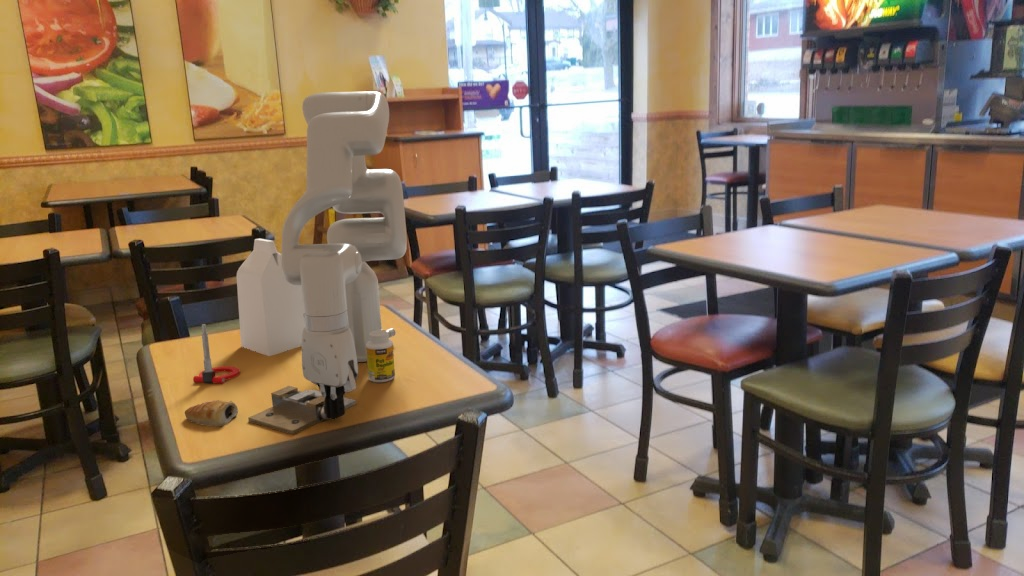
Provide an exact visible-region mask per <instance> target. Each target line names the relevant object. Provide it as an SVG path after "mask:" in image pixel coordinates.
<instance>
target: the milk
mask: <svg viewBox="0 0 1024 576" xmlns="http://www.w3.org/2000/svg"><path fill="white" fill-rule="evenodd" d="M236 289H237V303H238V318H239V333H240V335H239V336H240V347H241V348H243V347H244V349H246V348H247V350H249V349H250V351H252V352H255V351H256V352H255V353H259V354H262V355H263V356H267V357H271V356H274V355H278V354H281V353H283V352H284V353H285V352H288V351H290V350H294V349H297V348H300V347H301V348H302V334H303V329H304V328H305V327H306V325H305V318H304V304H303V294H302V285H293V284H291V283H289V282H288V281H287V280H286V279H285V277H284V275H283V271H282V262H281V253H280V252H278V250H277V247H276V244H275V241H274V240H270V239H266V238H260V237H259V238H255V239H254V242H253V250H252V251H251V252H250V254H248V256H247V257H246V258H245V260H244V261H243V262H242V264H241V265H240V266H239V267H238V270H237V271H236ZM287 350H288V351H287Z"/></svg>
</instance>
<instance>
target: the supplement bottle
mask: <svg viewBox="0 0 1024 576" xmlns="http://www.w3.org/2000/svg"><path fill="white" fill-rule="evenodd" d="M386 330H387V329H386ZM386 330H384V329H382V330H376V331H372V332H370V333H369V340H370V341H368V342H367V343H366V351H367V361H366V363H367V373H368V375H367V376H368V379H369V380H370V381H371V382H373V383H386V382H390V381H392V380H394V378H395V377H396V373H395V370H396V369H395V358H394V356H395V355H394V344H393V340H392V339H390V338H389V336H388V331H386Z"/></svg>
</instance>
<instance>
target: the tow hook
mask: <svg viewBox="0 0 1024 576" xmlns="http://www.w3.org/2000/svg"><path fill="white" fill-rule="evenodd" d="M201 330H202V331H201V332H202V334H201V342H202V348H203V349H202V351H203V366H204V367H203V368H204V370H202V371H200V372H199V374H198V375H194V376H193V382H194V383H197V384H198V383H200V384H201V383H202V384H212V385H213V384H225V383H226V380H227V381H228V380H230V379H233V378H235V377H238V376H239V375H240V374H241V371H240V368H239V367H236V366H231V365H230V366H216V367H212V359H211V355H210V354H211V353H210V345H209V335H208V333H207V326H206V324H205V323H202V324H201ZM221 372H229V373H226V374H222V375H218V376H216V373H221Z"/></svg>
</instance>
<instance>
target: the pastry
mask: <svg viewBox="0 0 1024 576" xmlns="http://www.w3.org/2000/svg"><path fill="white" fill-rule="evenodd" d="M238 412H239V409H238V406H237V405H236V403H235V402H234V401H232V400H230V401H227V400H226V401H225V400H220V399H216V400H212V401H205V402H202V403H200V404H199V403H198V404H196V405H194V406H190V407H189V408H187V409H186V410H184V415H185V418H186V419H187V420H188V421H189V422H191V421H192V422H193V423H194V422H195V423H194V424H196V425H198V424H199V426H200V425H201V426H209V427H222V426H224V425H227V424H228V423H229V422H230V421H231V420H233V418H235V417H236V416H237V415H238Z"/></svg>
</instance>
